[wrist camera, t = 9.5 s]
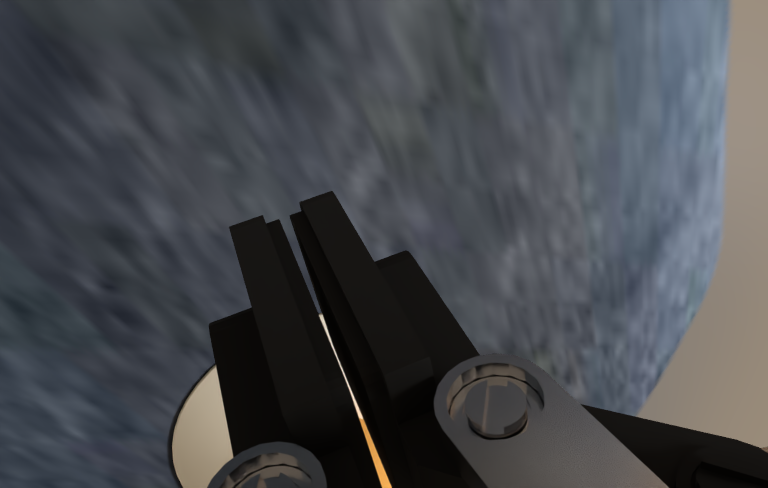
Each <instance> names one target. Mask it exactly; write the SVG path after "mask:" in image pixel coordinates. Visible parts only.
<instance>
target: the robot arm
mask: <svg viewBox="0 0 768 488" xmlns="http://www.w3.org/2000/svg"><path fill="white" fill-rule="evenodd" d="M299 203H300V208H301V212H298V213H295V214H292V215H290V219H291V222H292V225H293V228H294V231H295V234H296V237H297V240H298V243H299V246H300V249H301V252H302V255H303V258H304V261H305V264H306V267H307V270H308V273H309V276H310V279H311V282H312V285H313V288H314V291H315V294H316V297H317V300H318V303H319V306H320V309H321V312H322V315H323V318H324V321H325V324H326V327H327V330H328V333H329V336H330V338H331V341H332V344H333V347H334V349H335V352H336V355H337V357H338V359H339V362H340V364H341V367H342V369H343V371H344V374H345V376H346V379H347V381H348V383H349V386H350V388H351V391H352V393H353V395H354V398H355V400H356V403H357V405H358V407H359V410H360V412H361V415H362V417H363V419H364V422H365V424H366V427H367V429H368V432H369V434H370V436H371V439H372V441H373V444H374V446H375V448H376V451H377V453H378V456H379V458H380V460H381V463H382V465H383V468H384V470H385V472H386V475H387V477H388V480H389V482H390V484H391V487H392V488H768V447H763V448H759V447H756V446H753V445H750V444H747V443H744V442H741V441H738V440H735V439H731V438H726V437H722V436H718V435H713V434H708V433H704V432H700V431H696V430H691V429H687V428H682V427H678V426H674V425H669V424H665V423H660V422H656V421H652V420H647V419H643V418H639V417H634V416H630V415H625V414H621V413H617V412H612V411H608V410H604V409H599V408H595V407H590V406H586V405H582V404H579V403H578V402H577V401H576V400H575V399H574V398H573V397H572V396H571V395H570V394H569V393H568V392H567V391H566V390H565V389H564V388H562V387H561V386H560V385H559V384H558V383H557V382H556V381H555V380H554V379H553V378H552V377H551V376H550V375H549V374H548V373H546V372H545V371H544V370H543V369H541V368H540V367H539V366H537V365H536V364H534V363H533V362H531V361H530V360H527V359H524V358H521V357H518V356H515V355H509V354H498V353H494V354H487V355H479V353H478V352H477V350H476V349H475V347H474V346H473V344H472V343H471V341H470V340H469V338H468V337H467V336H466V334H465V333H464V331H463V330H462V328H461V327H460V325H459V324H458V322H457V321H456V319H455V318H454V316H453V315H452V313H451V312H450V311H449V309H448V308H447V306H446V305H445V303H444V302H443V300H442V299H441V297H440V296H439V294H438V293H437V291H436V290H435V288H434V287H433V285H432V284H431V283H430V281H429V280H428V278H427V277H426V275H425V274H424V272H423V271H422V269H421V268H420V266H419V265H418V263H417V262H416V260H415V259H414V258H413V256H412V255H411V254H410V253H409V252H408V251H406V250H405V251H403V252H400V253H397V254H395V255H392V256H389V257H386V258H384V259H381V260H378V261H376V262H374V260H373V259H372V257H371V255H370V254H369V252H368V250H367V249H366V247H365V245H364V243H363V242H362V240H361V238H360V237H359V235H358V233H357V231H356V230H355V228H354V226H353V225H352V223H351V221H350V220H349V218H348V216H347V214H346V213H345V211H344V209H343V208H342V206H341V204H340V202H339V201H338V199H337V197H336V196H335V194H334V193H333V191H330V192H327V193H324V194H321V195H319V196H316V197H313V198H310V199H307V200H304V201H301V202H299ZM229 228H230V232H231V236H232V239H233V243H234V246H235V250H236V253H237V257H238V260H239V264H240V267H241V271H242V274H243V278H244V281H245V285H246V288H247V292H248V295H249V299H250V302H251V306H252V308H249V309H247V310H244V311H241V312H239V313H236V314H233V315H231V316H228V317H225V318H223V319H220V320H217V321H214V322H212V323H210V324H209V331H210V337H211V343H212V348H213V353H214V358H215V364H216V369H217V374H218V379H219V385H220V390H221V395H222V400H223V405H224V411H225V416H226V421H227V426H228V432H229V437H230V442H231V447H232V453H233V458H232V459H231V460H230V461H228V462H227V463H225V464H224V466H223V467H222V468H221V469H220V470H219V471H218V472H217V473H216V475H215V476H214V477H213V478H212V479H211V481H210V483H209V485H208V487H207V488H382V485H381V482H380V479H379V476H378V473H377V470H376V467H375V464H374V461H373V458H372V455H371V452H370V449H369V446H368V443H367V440H366V437H365V434H364V431H363V428H362V425H361V422H360V419H359V416H358V413H357V410H356V407H355V404H354V401H353V399H352V396H351V393H350V390H349V388H348V385H347V382H346V380H345V377H344V375H343V372H342V370H341V367H340V365H339V362H338V360H337V358H336V355H335V353H334V350H333V348H332V346H331V343H330V341H329V338H328V336H327V333H326V331H325V329H324V326H323V324H322V321H321V319H320V317H319V314H318V312H317V309H316V307H315V305H314V302H313V300H312V297H311V295H310V292H309V290H308V288H307V285H306V283H305V280H304V278H303V276H302V273H301V271H300V268H299V266H298V263H297V261H296V259H295V256H294V254H293V251H292V249H291V247H290V244H289V242H288V239H287V237H286V234H285V232H284V230H283V227H282V225H281V222H280V220H279V219H278V220H275V221H272V222H269V223H267V224H266V223H265V220H264V217H263V215H261V216H259V217H256V218H253V219H250V220H247V221H244V222H241V223H239V224H236V225H233V226H230V227H229Z"/></svg>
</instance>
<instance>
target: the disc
mask: <svg viewBox="0 0 768 488" xmlns="http://www.w3.org/2000/svg"><path fill="white" fill-rule="evenodd" d="M319 317H320V319H321V321H322V324H323V326H324V329H325V331H326V333H327V336H328V338H329V341H330V343H331V346H332V348H333V350H334V353H335V355H336V352H335V349H334V347H333V344H332V341H331V338H330V336H329V333H328V330H327V327H326V324H325V321H324V318H323V315H322V313H320V314H319ZM336 358H337V360H338V362H339V359H338V357H337V355H336ZM339 365H340V367H341V364H340V362H339ZM341 370H342V372H343V375H344V377H345V380H346V382H347V385H348V388H349V390H350V393H351V396H352V399H353V401H354V404H355V407H356V410H357V413H358V416H359V418H361V419H363V417H362V415H361V412H360V410H359V407H358V405H357V403H356V400H355V398H354V395H353V393H352V391H351V388H350V386H349V383H348V381H347V379H346V376H345V374H344V371H343V369H342V367H341ZM172 452H173V463H174V467H175V470H176V474H177V476H178V478H179V480H180V482H181V484H182V486H183V488H207V487H208V485H209V483H210V481H211V479H212V478H213V477H214V476H215V475H216V473H217V472H218V471H219V470H220V469H221V468H222V467H223V466H224V464H225V463H227V462H228V461H230V460H231V459H232V458H233V453H232V447H231V442H230V437H229V432H228V426H227V421H226V416H225V411H224V405H223V400H222V395H221V390H220V385H219V379H218V374H217V369H216V365H215V366H213V367H212V368H211V369H210V370H209V371H208V372H207V373H206V375H205V376H204V377H203V378H202V379H201V380H200V381H199V382H198V383H197V385H196V386H195V388H194V389H193V391H192V392H191V393H190V395H189V396H188V398H187V399H186V401H185V403H184V405H183V407H182V409H181V411H180V413H179V416H178V419H177V422H176V425H175V428H174V434H173V441H172Z"/></svg>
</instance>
